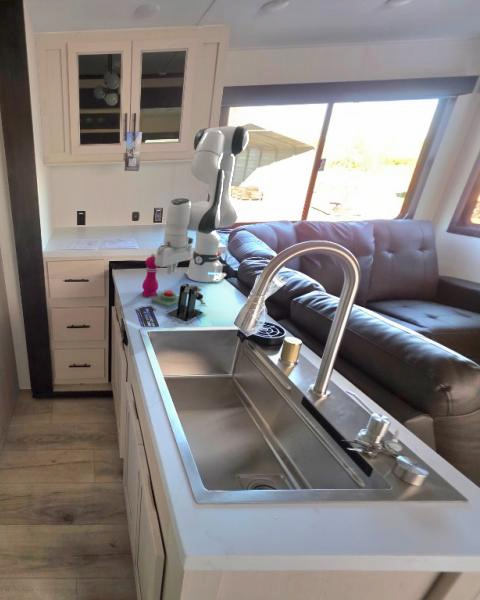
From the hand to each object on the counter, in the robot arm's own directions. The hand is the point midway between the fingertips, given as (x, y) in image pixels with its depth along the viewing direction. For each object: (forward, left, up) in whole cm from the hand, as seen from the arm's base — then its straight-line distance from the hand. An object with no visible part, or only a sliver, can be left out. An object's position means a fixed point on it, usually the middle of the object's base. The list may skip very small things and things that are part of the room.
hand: (171, 273), depth 133 cm
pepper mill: (-1, -11, -14) cm, 18 cm away
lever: (+1, +12, -7) cm, 14 cm away
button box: (0, 0, -14) cm, 14 cm away
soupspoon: (-17, +4, -14) cm, 23 cm away
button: (0, 0, -10) cm, 10 cm away
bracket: (+5, +12, -14) cm, 19 cm away
